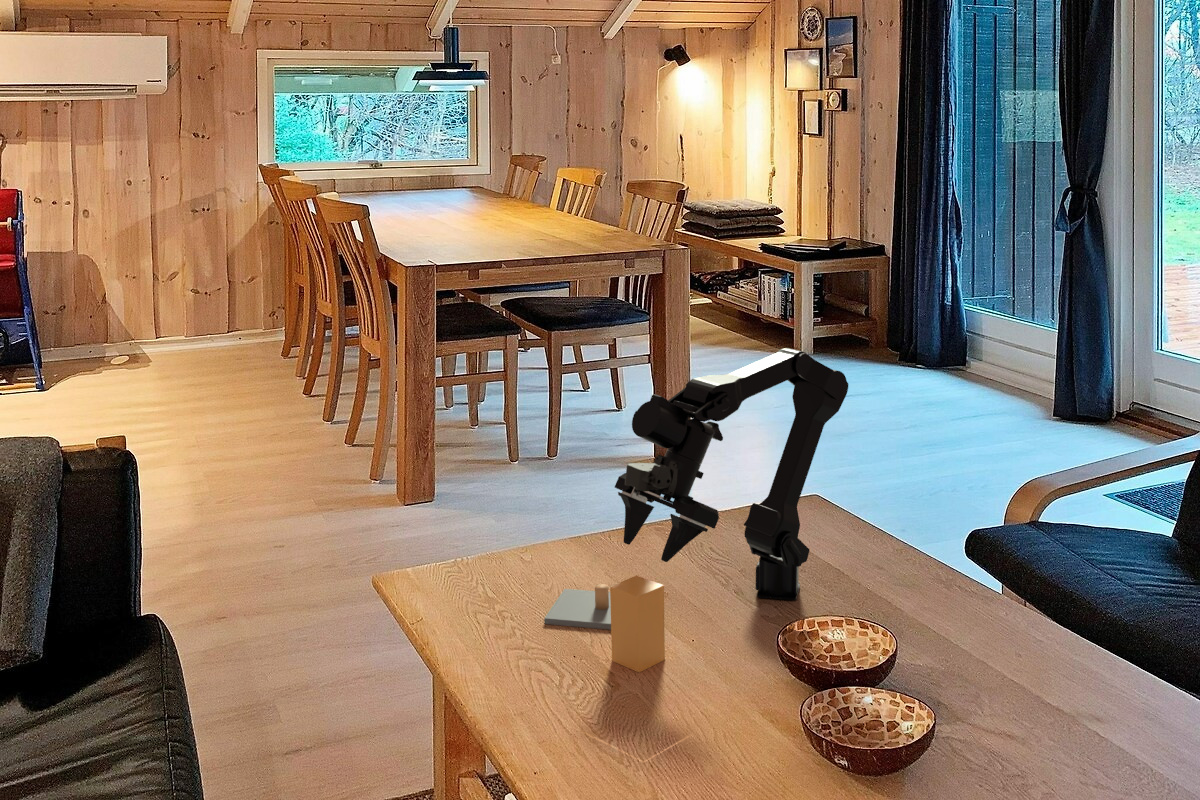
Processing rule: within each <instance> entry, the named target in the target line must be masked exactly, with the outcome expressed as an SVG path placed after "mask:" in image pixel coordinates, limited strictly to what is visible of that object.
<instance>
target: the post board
mask: <svg viewBox="0 0 1200 800" xmlns="http://www.w3.org/2000/svg"><path fill="white" fill-rule="evenodd" d="M543 621H544V625H550V626H551V625H553V626H561V627H562V626H563V627H564V626H566V627H575V628H585V629H599V630H609V631H611V601H610V591H609V586H608V584H605V583H604V584H603V583H600V584H596V585H595V586H594V590H586V589H574V588H563V590H562V592H561V593H560V595H558V598H557V599H556V601H555V602H554V603H553V605H552V606H551V608H550V609H549V611H548V612H547V613H546V615H545V616H544V619H543Z"/></svg>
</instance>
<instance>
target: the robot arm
mask: <svg viewBox="0 0 1200 800" xmlns="http://www.w3.org/2000/svg"><path fill="white" fill-rule="evenodd" d="M784 382H789V383H790V384H791V385H793V386H794V387H793V392H792V401H793V407H794V413H795V414H794V419H793V421H792V424H791V427H790V431H789V433H788V437H787V438H786V442H785V446H784V449H783V451H782V454H781V457H780V460H779V462H778V465H777V466H778V467H777V469H776V471H775V475H774V478H773V481H772V484H771V487H770V490H769V493H768V495H767V497H766V498H765V499H764V500H762V501H761V502H760V503H756V502H754V503H752V505H751V506H750V509H749V514H748V517H747V518H746V521H745V522H744V523H743V526H744V527H745V529H744V538H745V539H746V543H747V545H749V550H750V553H751V554H752V555H755V556H759V561H758V562H757V563H756V566H755V590H756V591H757V594H756V597H757V598H760V599H769V600H770V599H771V600H772V599H773V600H784V601H796V600H798V596H799V595H798V594H799V591H800V588H801V587H800V586H801V584H800V582H799V576H800V575H799V573H800V572H799V569H800V568H799V567H802V565H803V564H804V563H806V562H808V558H809V554H810V548H809V547H808V546H807V545H806V544H805V543H804V542H803V541H802V540H800V538H799V532H800V528H801V522H800V517H799V512H798V504H799V500H800V498H801V495H802V492H803V490H804V487H805V483H806V480H807V478H808V474H809V472H810V470H811V469H810V468H811V465H812V462H813V459H814V457H815V454H816V450H817V448H818V444H819V442H820V440H821V439H820V438H821V436H822V433H823V429H824V428H825V425H826V424H827V423H828V422H829V420H831V419H832V418H833V417H834V416H835V415H836V414H837V413H838V412H839V411H840V409H841V407H842V405H843V403H844V401H845V398H846V396H847V394H848V391H849V382H848V381H847V378H846V375H845V373H843V372H842V371H840V370H837V369H832V368H830V367H828V366H827V365H824V364H823V363H821V362H819V361H817V360H816V359H814V358H813V357H811V356H810V355H809V354H808V353H807V352H805V351H802V350H798V349H793V348H789V347H785V348H780V349H779V350H777V352H776V353H773V354H771V355H769V356H765V357H764V358H762V359H760V360H756V361H755V362H752V363H750V364H748V365H746V366H743V367H741V368H738V369H736V370H734V371H732V372H730V373H725V374H709V375H708V374H707V375H704V376H699V377H694V378H692V379H690V380H688V381H687V382H686V384H685V387H684V388H683V389H682V390H680V391H679V392H677V393H676V394H674V395H673V396H672V397H671V398H669V399H667V398H665V397H663V396H661V395H658V394H654V393H653V394H652V395H651V397H650V400H648V401H646V402H644V403H643V404H642V405H640V406H639V408H638V409H637V410H635V412H634V413H633V417H632V421H631V428H632V432H633V433H634V435H636V436H637V437H639V438H641V439H643V440H645V441H647V442H650V443H652V444H653V445H657V447H661V448H663V449H666V451H665V454H664V455H661V454H658V455H657V456H655V458H654V462H651V463H650V462H649V463H647V462H638V463H637V462H636V463H633V462H632V463H627V464H626V469H625V470H626V471H625V473H623V474H620V475H619V476H618V478H617V479H616V482H615V485H614V488H615V489H617V490H620V491H621V492H620V491H618V492H617V494H618V496H619V497H620V498H621V500H622V503H623V505H624V511H625V512H624V527H623V543H624V544H625V545H627V546H628V545H631V544H632V542H633V541H634V539H635V538H636V537H637V535H638V533H639V532H640V530H641V529H642V527H643V526H644V524H645V522H646V521H647V519H648V518H649V517H650V514H651V513H652V512H653V510H654V508H655V506H653V505H651V504H652V503H653V502H656V503H658V504H660V505H661V504H662V505H664V506H666V507H669V508H671V509H674V511H675V513H676V514H679V515H678V516H677V515H675V514H672V513H670V521H671V528H670V532H669V534H668V537H667V540H666V543H665V546H664V548H663V552H662V553H661V554H662V555H661V558H660V560H661V561H662V562H664V563H668V562H669V561H670V560H672V558H674V557H675V556H676V555H677V554H679V552H680V551H681V550H682V549H683V548H685V546H686V545H687V544H689V543H690V542H691V541H693V540H694V539H696V537H698V536H699V535H700V534H702V533H703V532H705V533H707V532H708V530H709V528H711V529H716V526H717V524H718V522H719V519H720V515H719V511H718V509H716V508H713V507H711V506H709V505H707V504H705V503H702V502H701V501H697V500H695V499H694V497H692V496H690V492H691V490H692V487H693V486H694V482H695V481H696V479H697V478H698V479H700V480H702V479H703V476H704V472H702V471H700V468H701V467H702V466H701V465H702V463H703V461H704V458H705V456H706V454H707V451H708V449H709V446H710V443H711V442H712V439H713V440H715V441H720V442H722V441H723V440H724V436H723V434H722V432H721V430H720V426H719V425H720V424H719V423H717V422H721V421H723V420H725V419H727V418H728V417H730V416H731V415H733V414H734V413H735V412H737V411H738V410H739V409H740V407H741V406H742V403H743V402H744V401H746V400H747V399H749V398H751V397H754V396H755V395H758V394H759V393H762V392H764V391H767V390H769V389H771V388H773V387H776V386H777V385H781V384H782V383H784ZM671 499H673V500H671ZM647 502H648V503H647ZM649 503H651V504H649ZM707 527H709V528H707Z"/></svg>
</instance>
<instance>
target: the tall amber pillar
mask: <svg viewBox="0 0 1200 800" xmlns="http://www.w3.org/2000/svg"><path fill="white" fill-rule="evenodd" d="M609 590H610V591H609V592H610V601H611V630H610V632H611V634H610V635H611V638H610V639H611V641H610V642H611V662H613V663H615V664H618V665H621V666H623V667H625V668H627V669H629V670H633V671H635V672H637V673H642V671H645V670H648V669H649V668H651V667H653V666H655V665H657V664H659V663H661V662H663V661H666V658H665V657H666V653H665V652H666V651H665V650H666V646H665V642H666V641H665V637H666V636H665V633H666V632H665V585H664V584H662V583H658V582H656V581H653V580H650V579H648V578H644V577H642V576H639V575H633V576H631V577H629V578H627V579H624V580H623V581H619V582H618V583H614V584H613V585H611V586H610V587H609Z"/></svg>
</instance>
